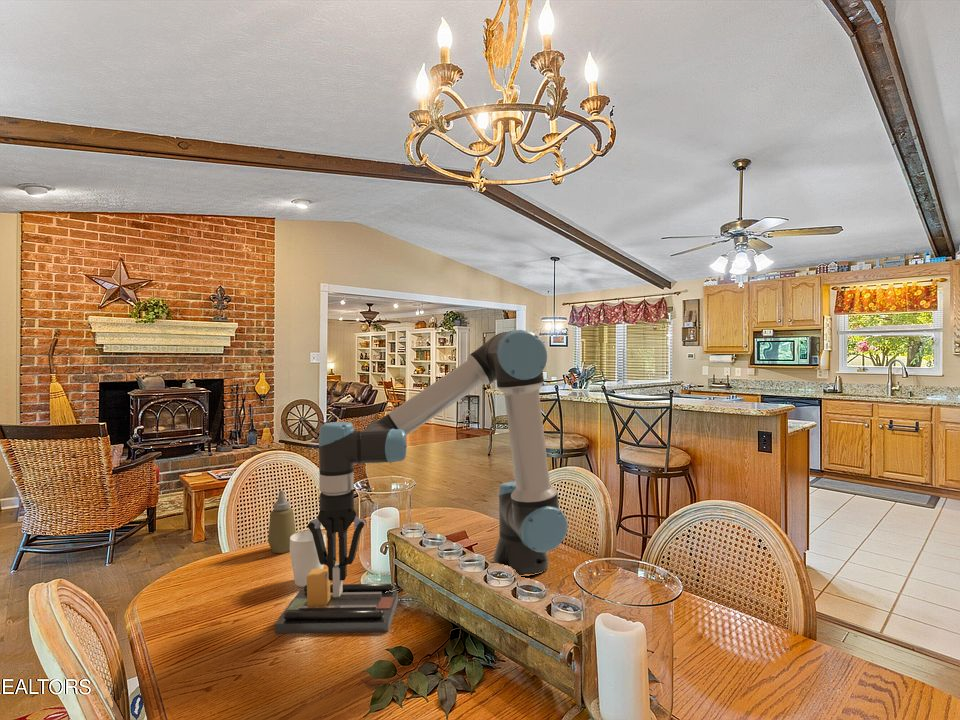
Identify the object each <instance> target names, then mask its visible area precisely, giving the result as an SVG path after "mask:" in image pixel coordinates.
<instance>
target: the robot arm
mask: <svg viewBox="0 0 960 720" xmlns="http://www.w3.org/2000/svg"><path fill="white" fill-rule="evenodd" d="M547 350H548V349H547V348H546V345H545V343H544V342H543V340H542V339H541V338H540V337H539V336H538V335H536V334H535V333H534V332H532V331H530V330H529V331H528V330H524V329H514V330H510V331H504V332H500V333H497V334H496V335H494V336H492V337H491V338H489V339H488V340H487V341H486V342H485V343H484V344H482V345H481V346H480V347H478V348H477V349H476V350H474V351H473V352H471V353H469V354H468V355H467V360H466V361H464V362H463V363H462V364H460V365H459V366H457V367H456V368H454V369H452V370H451V371H449V372H448V373H447V374H445V375H444V376H442V377H440V378H439V379H438V380H436V381H434V382H433V383H432V384H430V385H429V386H427V387H425V388H424V389H423V390H421V391H419V392H417V394H415V395H414V396H411V398H409V399H408V400H406V401H405V402H404V403H402V404H400V405H399V406H397V407H395V408H394V409H392V411H391V410H390V412H388V414H385V415H384V416H382V417H381V418H379V419H378V420H374V421H372V422H370V423H369V424H368V425H367V426H366V427H365V429H364V430H355V428H354V425H353V423H352V422H349V421H332V422H326V423H323V424H322V425H321V426H320V427H319V433H318V435H319V436H318V466H319V471H318V472H319V473H318V476H319V478H318V479H319V487H318V489H319V492H320V493H319V513H318V515H317V517H316V518H315V519H312V520H311V521H310V522H309V523H308V524H307V528H308V530H310V531H311V532H312V535H313V539H314V542H315V546H316V550H317V554H318V558H319V562H320V564H321V565H323V564H324V566H327V569H328V579H329V581H330V582H331V581H332V584H333V597H340V595H341V593H342V591H343V584H344V582H343V581H346V578H347V576H348V569H347V568H348V567H347V566H348V565H352V564H353V563H354V560H355V558H356V554H357V551H358V546H359V543H360V538H361V533H362V529H363V528H364V527H365V525H366V523H367V521H366V519H365V518H364V519H363V518H362V519H361V518H359V517H358V516H357V513H356V511H355V491H354V490H353V489H354V488H355V485H354V482H355V481H354V477H355V475H354V474H355V473H354V470H355V469H354V465H359V464H380V463H381V464H382V463H389V464H392V463H396V462H402V461H404V460H405V459H406V457H407V436H408V435H410V434H411V433H413V432H414V431H416V430H417V429H419V428H420V427H421V426H423V425H424V424H426V423H428V422H429V421H430V420H433V419H434V418H435V417H436V416H437V415H440V413H442V412H444V411H445V410H447V409H448V408H450V407H451V406H453V405H454V404H455V403H457V402H458V401H460V400H462V399H463V398H464V397H466V396H468V395H469V394H470V393H472V392H473V391H475V390H476V389H477V388H480V386H482V385H487V386H489V385H490V384H492V383H494V382H495V381H496V387H497V389H498V390H499V391H501V392H502V393H503V394H504V395H503V396H504V403H505V409H506V418H507V425H508V426H507V428H508V434H509V441H510V442H509V444H510V451H511V458H512V465H513V466H512V468H513V473H514V474H513V475H514V481H507V482H504V483H501V484H500V486H499V489H498V518H499V519H498V520H499V527H498V529H499V533H498V534H499V535H498V536H499V537H498V541H497V544H496V547H495V550H494V554H493V559H492V561H493V562H494V563H499V564H504V565H508V566H511V567H512V568H513V569H515V570H516V572H517V573H518V574H519V575H524V574H535V573H539V572H542V571H544V570H546V569H547V570H548V568H549V558H548V557H549V556H548V554H547V553H548V552H551V551H553V550H555V549H556V548H558V547H559V546H560V545H561V544H562V542H563V541H564V540H565V539H566V536H567V533H568V528H569V526H568V525H569V524H568V519H567V517H566V516H565V513H564V512H563V511H562V510H561V509H560V502H559V496H558V489H557V488H556V487H554V486H553V485H552V484H551V481H550V472H549V464H548V455H547V447H546V439H545V430H544V422H543V416H542V415H543V412H542V406H541V398H540V397H541V396H540V388H541V387H542V386H543V385H544V383H545V380H544V370H545V368H546V366H547V362H548V351H547ZM352 524H354V525H353V527H354V531H353V533H352V539H351V543H350V547H349V551H348V530H349V527H350V526H351V525H352ZM321 526H322V527H323V528H324V529H325V531H326V547H325V543H324V539H323V535H322V531H323V530H322V529H321ZM336 535H337V537H338V562H337V537H336ZM493 562H492V563H493ZM547 567H548V568H547ZM547 570H546V571H547Z"/></svg>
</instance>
